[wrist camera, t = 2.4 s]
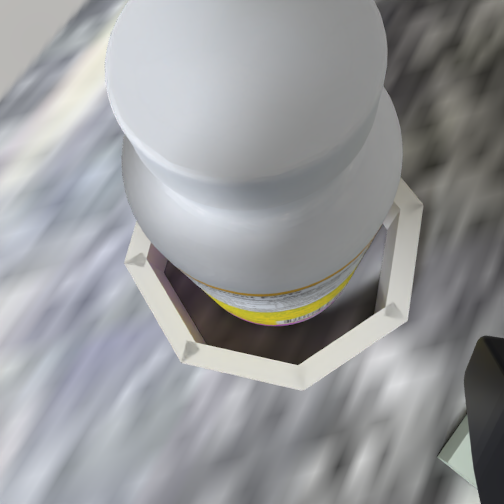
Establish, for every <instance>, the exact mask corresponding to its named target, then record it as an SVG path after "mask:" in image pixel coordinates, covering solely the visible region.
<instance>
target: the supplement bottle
mask: <svg viewBox="0 0 504 504" xmlns="http://www.w3.org/2000/svg"><path fill="white" fill-rule="evenodd" d="M387 52H388V48H387V40H386V33H385V29H384V25H383V21H382V17H381V14H380V12H379V10H378V8H377V6H376V4H375V1H374V0H129V1H128V2H127V3H126V5H125V7H124V8H123V10H122V12H121V14H120V15H119V17H118V19H117V21H116V23H115V25H114V28H113V30H112V32H111V35H110V39H109V43H108V47H107V52H106V59H105V82H106V90H107V94H108V98H109V102H110V105H111V108H112V111H113V113H114V115H115V117H116V120H117V122H118V124H119V125H120V127H121V129H122V130H123V132H124V133H125V134H124V139H123V148H122V176H123V182H124V187H125V192H126V195H127V199H128V202H129V205H130V207H131V210H132V212H133V215H134V217H135V218H136V220H137V222H138V224H139V226H140V227H141V229H142V231H143V232H144V234H145V235H146V236H147V238H148V239H149V240H150V241H151V243H152V244H153V245H154V246H155V247H156V248H157V249H158V250H159V251H160V252H161V253H162V254H163V255H164V256H165V257H166V258H167V259H168V260H169V261H170V262H171V263H172V264H173V265H174V266H175V267H177V268H178V269H179V270H180V271H182V272H183V273H184V274H185V275H186V276H187V277H188V278H189V279H191V280H192V281H193V282H194V283H195V284H196V285H197V286H199V287H200V288H201V289H202V290H203V291H204V292H205V293H206V294H207V295H209V296H210V297H211V298H212V299H213V300H214V301H215V302H217V303H218V304H219V305H220V306H221V307H222V308H224V309H225V310H226V311H228V312H229V313H231V314H232V315H234V316H236V317H238V318H240V319H242V320H245V321H247V322H250V323H254V324H258V325H263V326H287V325H292V324H296V323H300V322H303V321H305V320H308V319H310V318H312V317H314V316H316V315H317V314H319V313H321V312H322V311H324V310H325V309H326V308H327V307H328V306H330V305H331V304H332V303H333V302H334V301H335V300H336V299H337V297H338V296H339V295H340V294H341V292H342V291H343V290H344V288H345V287H346V285H347V283H348V282H349V280H350V278H351V277H352V275H353V273H354V271H355V269H356V268H357V266H358V264H359V262H360V261H361V259H362V257H363V255H364V254H365V252H366V251H367V249H368V247H369V245H370V244H371V242H372V240H373V238H374V237H375V235H376V234H377V232H378V230H379V229H380V227H381V225H382V223H383V221H384V219H385V218H386V216H387V214H388V212H389V210H390V208H391V206H392V204H393V201H394V198H395V195H396V192H397V189H398V185H399V182H400V177H401V170H402V161H403V144H402V134H401V128H400V124H399V120H398V117H397V114H396V111H395V108H394V105H393V103H392V100H391V98H390V96H389V94H388V93H387V91H386V89H385V88H384V86H383V85H384V80H385V75H386V69H387Z"/></svg>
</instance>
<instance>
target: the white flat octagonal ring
mask: <svg viewBox="0 0 504 504" xmlns="http://www.w3.org/2000/svg"><path fill="white" fill-rule="evenodd" d="M422 212H423V203H422V202H421V201H420V200H419V199H418V197H417V196H416V195H415V194H414V192H413V191H412V190H411V189H410V188H409V186H408V185H407V184H406V183H405V181H404V180H403V179H402V178H401V177H400V182H399V185H398V189H397V192H396V195H395V198H394V201H393V204H392V206H391V208H390V210H389V212H388V214H387V216H386V218H385V219H384V221H383V223H382V224H383V225H384V226H385V227H386V229H387V234H386V241H385V247H384V254H383V260H382V267H381V273H380V279H379V286H378V292H377V299H376V305H375V312H374V315H373V316H371V317H370V318H368V319H367V320H365V321H364V322H362V323H361V324H359V325H358V326H356V327H355V328H353V329H352V330H350V331H349V332H347V333H346V334H344V335H343V336H341V337H340V338H338V339H337V340H335V341H334V342H332V343H331V344H329V345H328V346H326V347H325V348H323V349H322V350H320V351H319V352H317V353H316V354H314V355H313V356H311V357H310V358H308V359H307V360H305V361H304V362H302V363H301V364H299V365H294V364H290V363H285V362H281V361H276V360H272V359H267V358H263V357H259V356H254V355H250V354H245V353H241V352H236V351H232V350H227V349H223V348H218V347H214V346H209V345H207V344H206V343H205V341H204V339H203V338H202V336H201V334H200V333H199V331H198V329H197V327H196V326H195V324H194V322H193V321H192V319H191V317H190V316H189V314H188V312H187V311H186V309H185V307H184V306H183V304H182V302H181V301H180V299H179V297H178V296H177V294H176V292H175V291H174V289H173V287H172V286H171V284H170V282H169V281H168V279H167V277H166V276H165V274H164V271H165V267H166V264H167V260H168V259H167V258H166V257H165V256H164V255H163V254H162V253H161V252H160V251H159V250H158V249H157V248H156V247H155V246H154V245H153V244H152V243H151V241H150V240H149V239H148V238H147V236H146V235H145V234H144V232H143V231H142V229H141V227H140V226H139V224H138V222H137V221H136V225H135V228H134V231H133V235H132V238H131V242H130V245H129V248H128V252H127V255H126V259H125V262H124V264H125V265H126V267H127V269H128V271H129V272H130V274H131V276H132V278H133V279H134V281H135V283H136V285H137V286H138V288H139V290H140V292H141V293H142V295H143V297H144V299H145V300H146V302H147V304H148V306H149V307H150V309H151V311H152V313H153V314H154V316H155V318H156V320H157V321H158V323H159V325H160V327H161V328H162V330H163V332H164V334H165V335H166V337H167V339H168V341H169V342H170V344H171V346H172V348H173V349H174V351H175V353H176V354H177V356H178V358H179V360H180V361H181V363H184V364H189V365H193V366H197V367H202V368H206V369H210V370H215V371H219V372H223V373H228V374H232V375H236V376H241V377H245V378H249V379H254V380H258V381H262V382H267V383H271V384H275V385H280V386H284V387H288V388H293V389H297V390H301V391H304V390H305V389H307V388H308V387H310V386H311V385H313V384H314V383H316V382H317V381H319V380H320V379H322V378H323V377H324V376H326V375H327V374H329V373H330V372H332V371H333V370H335V369H336V368H338V367H339V366H341V365H342V364H344V363H345V362H347V361H348V360H350V359H351V358H353V357H354V356H356V355H357V354H359V353H360V352H362V351H363V350H365V349H366V348H368V347H369V346H371V345H372V344H374V343H375V342H377V341H378V340H380V339H381V338H382V337H384V336H385V335H387V334H388V333H390V332H391V331H393V330H394V329H396V328H397V327H399V326H400V325H402V324H403V323H405V322H406V321H408V314H409V307H410V299H411V292H412V285H413V277H414V270H415V263H416V256H417V248H418V241H419V234H420V227H421V219H422Z"/></svg>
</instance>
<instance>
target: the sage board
mask: <svg viewBox="0 0 504 504" xmlns="http://www.w3.org/2000/svg"><path fill="white" fill-rule="evenodd" d="M438 458H439V459H440V460H442V461H443V462H444V463H445V464H447V465H448V466H449V467H450V468H452V469H453V470H454V471H455V472H456V473H458V474H459V475H460V476H461V477H463V478H464V479H465V480H466V481H468V482H469V483H470V484H471V485H472V486H474V487H475V488H476V489H477V484H476V479H475V474H474V469H473V462H472V454H471V445H470V436H469V426H468V417H467V415H466V416H465V418H464V419H463V421H462V422H461V423H460V425H459V426H458V428H457V429H456V431H455V432H454V434H453V435H452V436H451V438H450V439H449V441H448V442H447V444H446V445H445V446H444V448H443V449H442V451H441V452H440V454H439V455H438ZM477 490H478V489H477Z"/></svg>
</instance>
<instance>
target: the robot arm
mask: <svg viewBox="0 0 504 504" xmlns="http://www.w3.org/2000/svg"><path fill="white" fill-rule="evenodd" d="M464 390H465V399H466V408H467V417H468V426H469V436H470V445H471V454H472V462H473V469H474V474H475V479H476V484H477V489H478V493H479V497H480V502H481V504H504V338H498V337H492V336H482V337H480V339H479V340H478V341H477V343H476V346H475V348H474V351H473V353H472V356H471V358H470V361H469V363H468V366H467V368H466V371H465V375H464Z"/></svg>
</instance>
